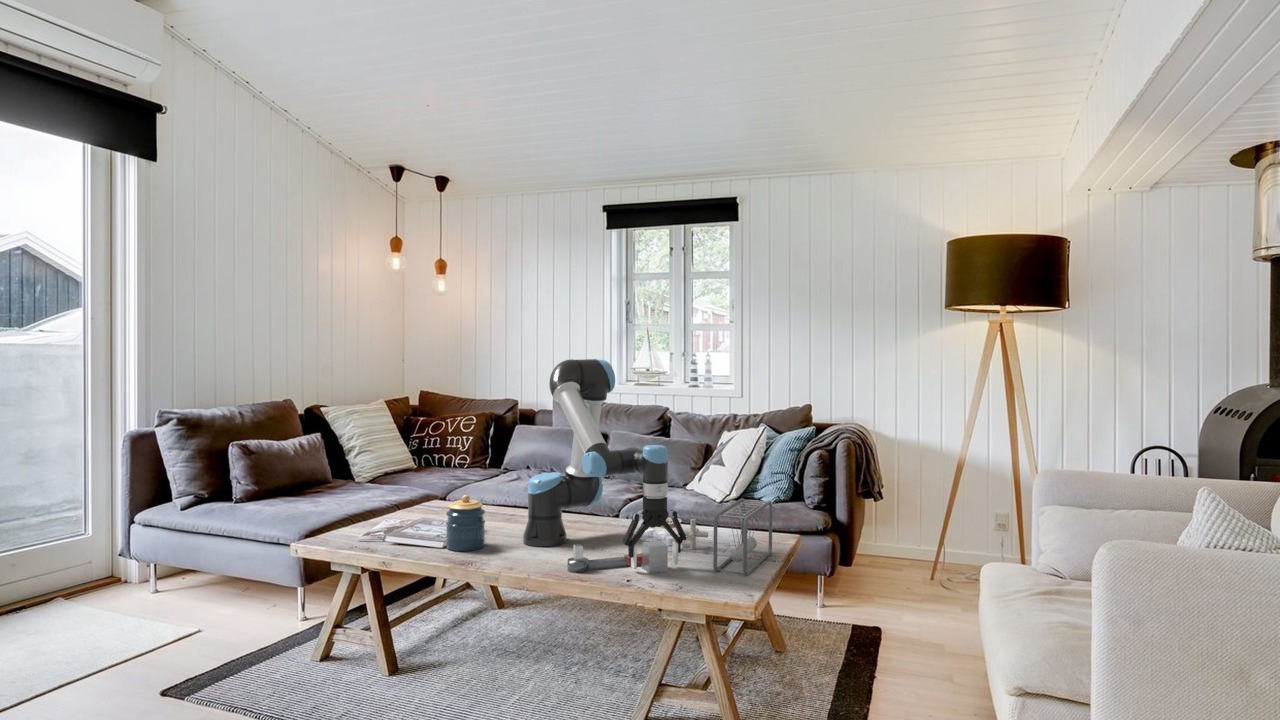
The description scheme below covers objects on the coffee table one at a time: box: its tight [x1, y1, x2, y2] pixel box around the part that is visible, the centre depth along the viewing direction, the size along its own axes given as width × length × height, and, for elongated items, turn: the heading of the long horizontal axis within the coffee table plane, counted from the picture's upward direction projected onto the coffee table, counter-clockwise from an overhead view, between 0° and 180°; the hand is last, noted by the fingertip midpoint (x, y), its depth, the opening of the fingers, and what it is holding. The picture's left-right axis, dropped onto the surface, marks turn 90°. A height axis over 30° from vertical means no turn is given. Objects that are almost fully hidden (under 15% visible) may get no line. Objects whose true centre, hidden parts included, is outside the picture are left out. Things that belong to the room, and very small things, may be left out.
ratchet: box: [567, 543, 642, 574], centre depth 228 cm, size 6×27×8 cm, turn 110°
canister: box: [445, 494, 486, 552], centre depth 250 cm, size 13×13×18 cm
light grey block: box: [641, 540, 669, 574], centre depth 224 cm, size 6×6×8 cm
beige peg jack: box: [677, 518, 709, 550], centre depth 248 cm, size 10×10×10 cm
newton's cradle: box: [712, 497, 773, 577], centre depth 233 cm, size 30×10×18 cm, turn 155°
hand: (654, 565), depth 224 cm, fingers open, 13 cm apart
